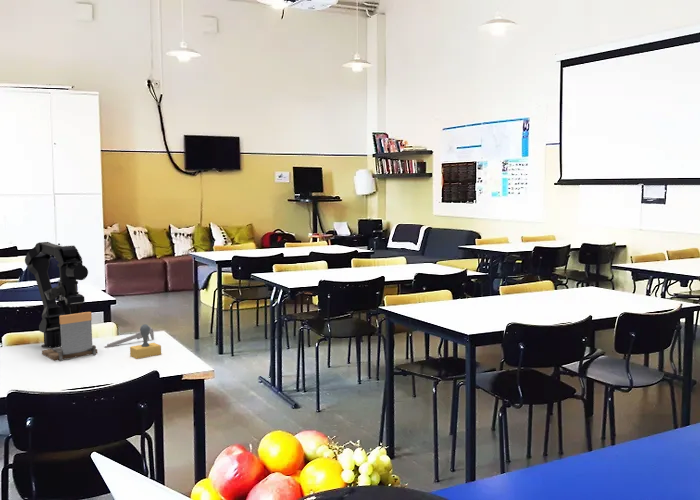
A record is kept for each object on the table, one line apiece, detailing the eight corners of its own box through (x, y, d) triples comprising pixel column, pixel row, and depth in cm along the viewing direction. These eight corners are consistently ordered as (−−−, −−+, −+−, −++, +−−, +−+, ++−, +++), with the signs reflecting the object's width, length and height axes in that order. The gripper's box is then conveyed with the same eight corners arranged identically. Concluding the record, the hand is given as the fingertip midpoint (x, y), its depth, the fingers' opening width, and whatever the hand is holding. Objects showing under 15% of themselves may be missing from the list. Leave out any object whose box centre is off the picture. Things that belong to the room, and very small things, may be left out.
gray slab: (61, 355, 253) (59, 315, 251) (91, 349, 260) (89, 311, 259) (62, 355, 252) (60, 316, 250) (93, 350, 259) (91, 312, 258)
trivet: (42, 354, 261) (41, 345, 261) (84, 347, 272) (83, 338, 272) (56, 361, 250) (56, 352, 250) (99, 354, 261) (99, 345, 261)
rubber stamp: (136, 359, 254) (135, 327, 253) (130, 356, 258) (128, 324, 257) (161, 354, 261) (160, 323, 259) (154, 351, 265) (153, 321, 264)
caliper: (152, 340, 285) (152, 325, 284) (153, 340, 284) (153, 325, 283) (104, 348, 272) (103, 332, 271) (105, 348, 271) (104, 333, 270)
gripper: (39, 278, 265) (42, 318, 266) (52, 282, 250) (54, 325, 251) (69, 276, 271) (72, 315, 272) (83, 279, 256) (86, 321, 258)
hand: (70, 319), depth 263 cm, fingers open, 9 cm apart
